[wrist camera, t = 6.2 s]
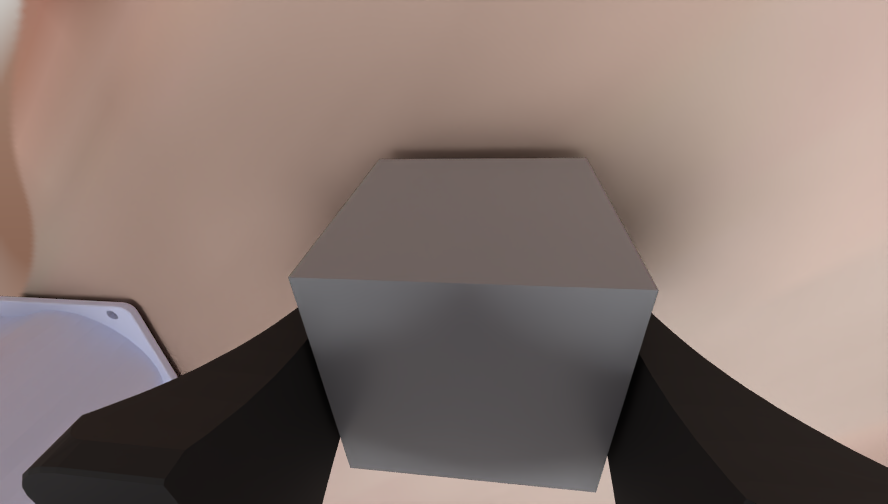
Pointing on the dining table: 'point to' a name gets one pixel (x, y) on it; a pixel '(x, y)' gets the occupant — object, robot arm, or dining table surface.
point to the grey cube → (477, 319)
